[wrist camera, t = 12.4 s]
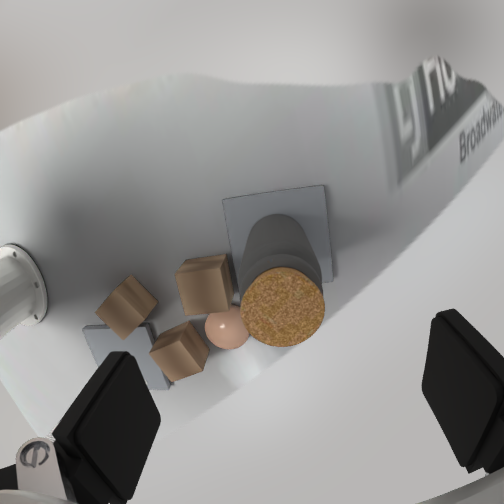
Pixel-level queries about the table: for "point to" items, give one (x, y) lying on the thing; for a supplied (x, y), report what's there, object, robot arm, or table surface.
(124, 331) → the block
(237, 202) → the pad three
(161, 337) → the block
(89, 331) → the pad two
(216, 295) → the block
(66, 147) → the table surface
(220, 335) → the peach glossy rounded part
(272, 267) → the bottle
